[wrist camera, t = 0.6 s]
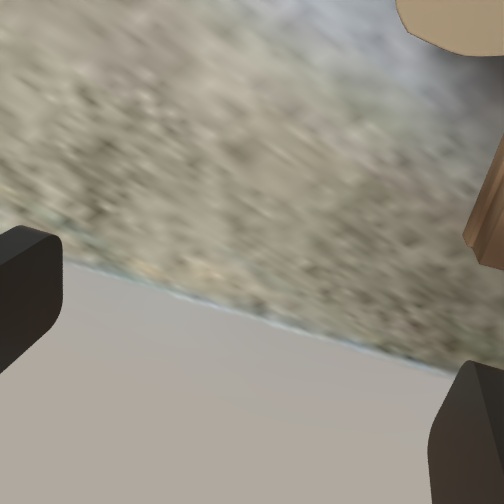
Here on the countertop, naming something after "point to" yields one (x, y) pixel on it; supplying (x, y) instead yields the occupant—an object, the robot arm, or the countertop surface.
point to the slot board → (489, 217)
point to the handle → (456, 24)
